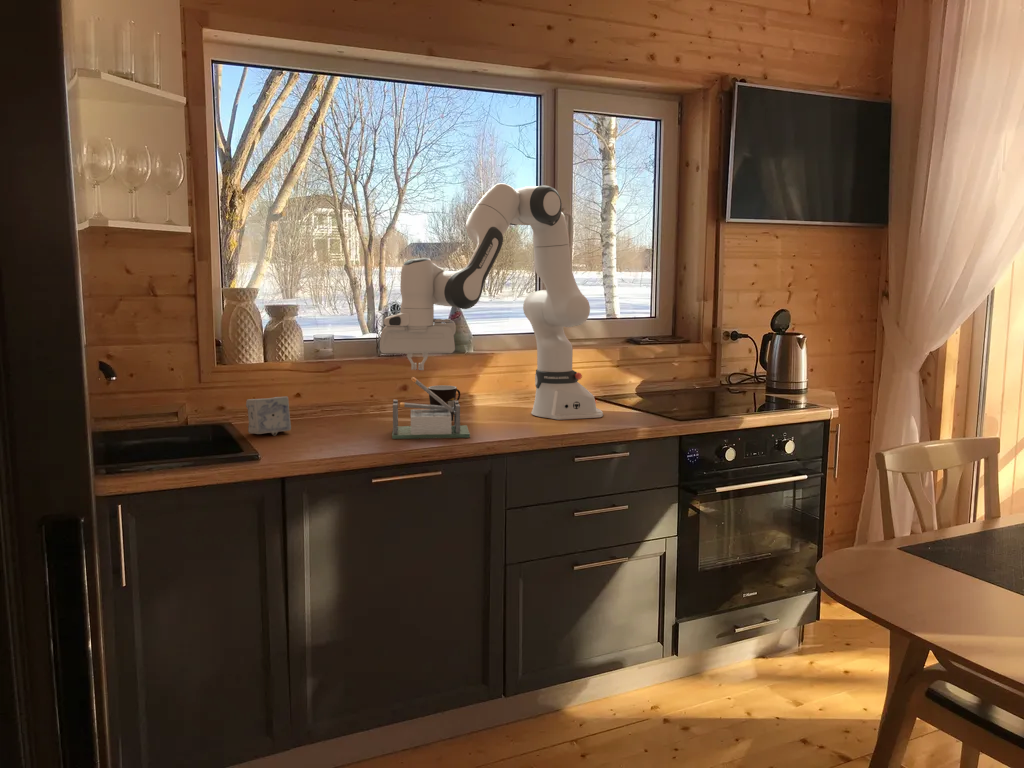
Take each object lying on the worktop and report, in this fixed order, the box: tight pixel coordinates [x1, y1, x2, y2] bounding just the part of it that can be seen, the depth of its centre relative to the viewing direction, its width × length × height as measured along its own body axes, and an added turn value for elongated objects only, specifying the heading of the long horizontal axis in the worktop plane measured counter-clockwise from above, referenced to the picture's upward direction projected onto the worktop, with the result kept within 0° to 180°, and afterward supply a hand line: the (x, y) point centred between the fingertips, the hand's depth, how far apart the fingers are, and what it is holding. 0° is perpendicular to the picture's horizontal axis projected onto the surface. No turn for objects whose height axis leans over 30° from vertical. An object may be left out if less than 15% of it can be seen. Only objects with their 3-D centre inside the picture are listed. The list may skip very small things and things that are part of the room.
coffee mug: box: [427, 384, 461, 422], centre depth 246 cm, size 12×9×10 cm
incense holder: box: [245, 396, 292, 436], centre depth 224 cm, size 10×8×10 cm
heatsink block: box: [391, 399, 471, 440], centre depth 226 cm, size 21×12×9 cm, turn 97°
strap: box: [410, 376, 453, 412], centre depth 222 cm, size 14×3×1 cm
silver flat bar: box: [399, 401, 451, 410], centre depth 228 cm, size 14×3×1 cm, turn 97°
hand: (417, 369), depth 221 cm, fingers closed
